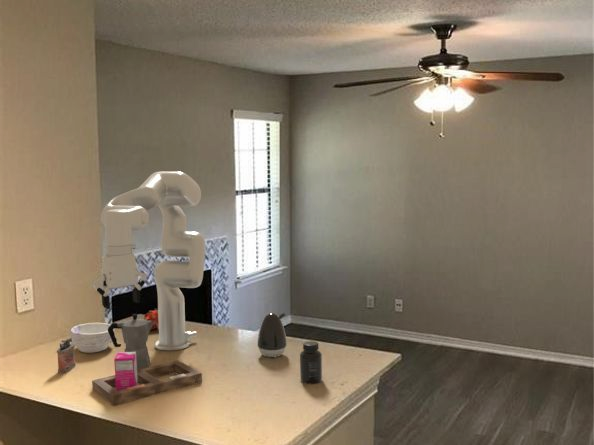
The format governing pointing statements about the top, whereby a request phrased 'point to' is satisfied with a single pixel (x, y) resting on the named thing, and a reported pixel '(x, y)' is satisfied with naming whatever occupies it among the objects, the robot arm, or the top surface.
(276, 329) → the dark grey tapered dome
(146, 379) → the wooden compartment tray
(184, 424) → the top surface
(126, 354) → the supplement box
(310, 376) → the supplement bottle
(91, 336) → the paper bowls
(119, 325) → the coffeepot
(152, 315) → the dragon fruit
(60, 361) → the lighter
